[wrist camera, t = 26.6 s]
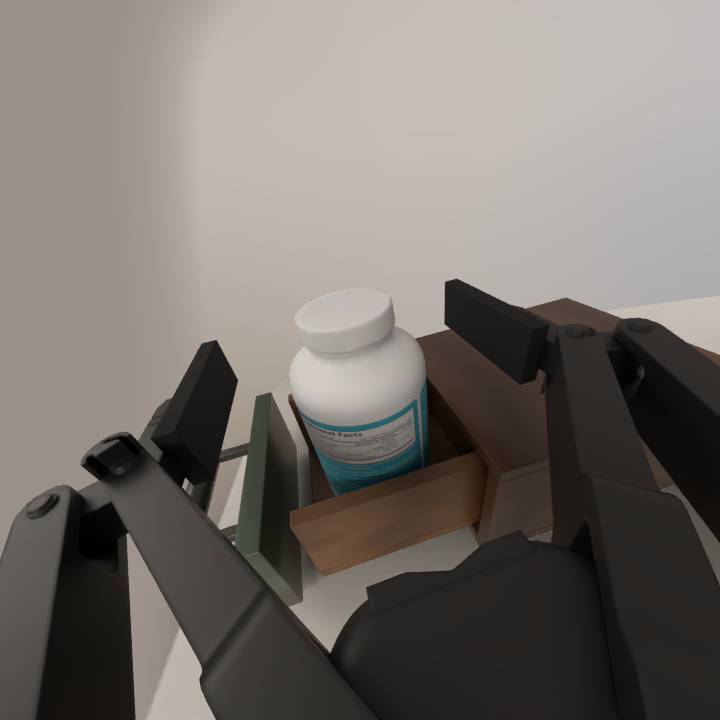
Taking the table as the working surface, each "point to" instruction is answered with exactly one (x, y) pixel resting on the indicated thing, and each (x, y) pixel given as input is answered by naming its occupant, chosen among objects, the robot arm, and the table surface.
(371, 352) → the pill bottle
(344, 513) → the drawer
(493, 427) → the cabinet
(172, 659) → the table surface
